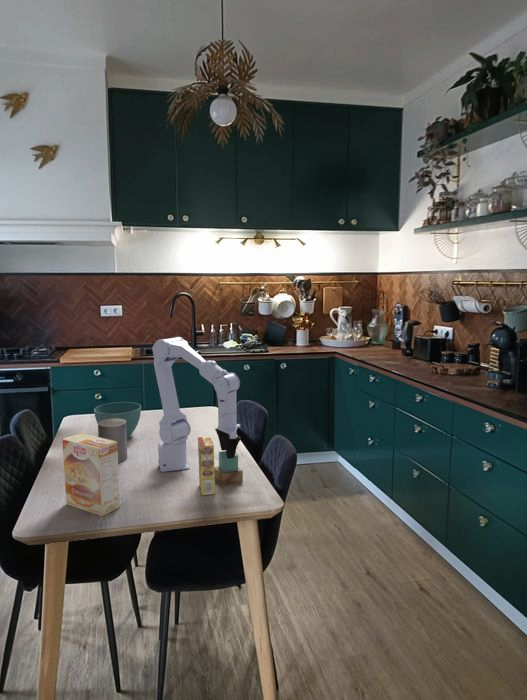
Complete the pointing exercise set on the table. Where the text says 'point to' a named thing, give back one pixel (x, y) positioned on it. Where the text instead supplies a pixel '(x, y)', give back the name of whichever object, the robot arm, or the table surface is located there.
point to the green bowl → (120, 414)
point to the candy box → (206, 465)
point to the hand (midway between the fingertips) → (227, 454)
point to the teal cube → (228, 462)
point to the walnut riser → (228, 476)
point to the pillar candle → (115, 435)
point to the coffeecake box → (91, 473)
